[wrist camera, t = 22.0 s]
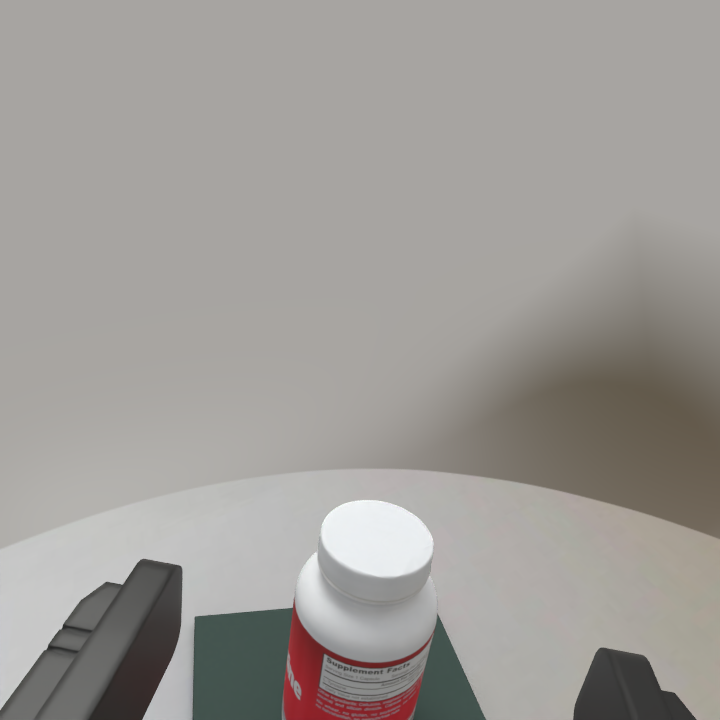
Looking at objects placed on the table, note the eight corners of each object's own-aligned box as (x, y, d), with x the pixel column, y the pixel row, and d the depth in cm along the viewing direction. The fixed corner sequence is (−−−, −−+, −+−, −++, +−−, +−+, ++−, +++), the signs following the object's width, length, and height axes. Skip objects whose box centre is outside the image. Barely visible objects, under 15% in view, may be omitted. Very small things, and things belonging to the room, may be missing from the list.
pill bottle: (299, 651, 31) (322, 477, 27) (413, 679, 30) (454, 505, 26) (262, 768, 25) (282, 569, 21) (401, 806, 24) (451, 608, 20)
